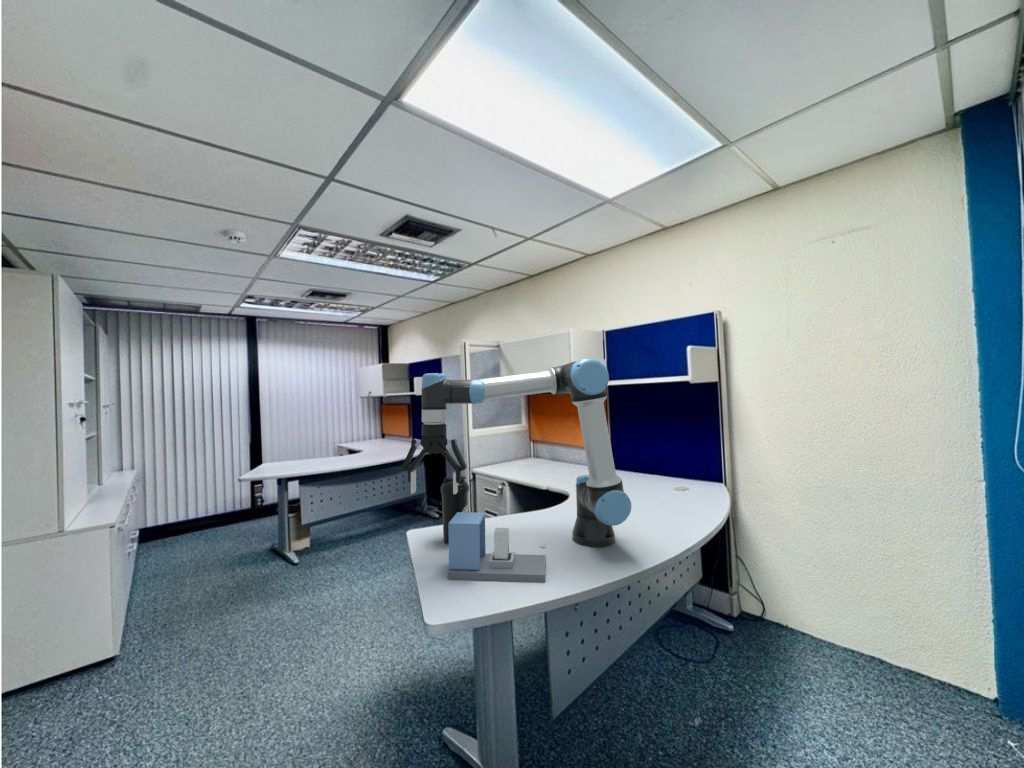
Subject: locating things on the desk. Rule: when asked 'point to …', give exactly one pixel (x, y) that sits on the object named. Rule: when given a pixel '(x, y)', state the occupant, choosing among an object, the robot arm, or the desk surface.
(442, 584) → the desk surface
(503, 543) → the steel block
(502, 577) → the housing base
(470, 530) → the housing cover
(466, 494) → the water bottle
